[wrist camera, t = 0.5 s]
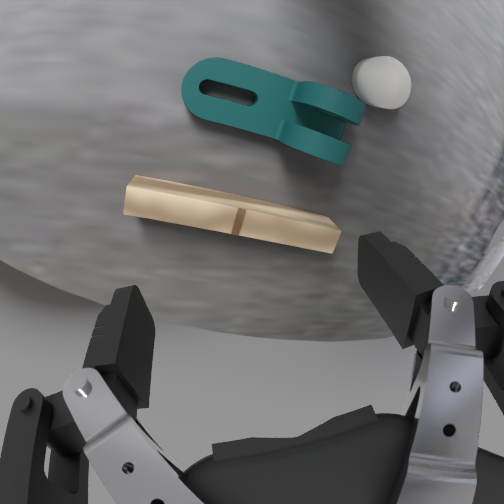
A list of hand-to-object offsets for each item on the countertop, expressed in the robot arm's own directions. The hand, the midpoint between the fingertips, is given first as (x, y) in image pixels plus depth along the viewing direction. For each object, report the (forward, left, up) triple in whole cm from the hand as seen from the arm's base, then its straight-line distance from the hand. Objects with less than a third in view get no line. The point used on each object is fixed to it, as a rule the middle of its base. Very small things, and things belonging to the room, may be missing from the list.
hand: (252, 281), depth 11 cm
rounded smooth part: (-14, +16, -26) cm, 33 cm away
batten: (+6, +4, -25) cm, 26 cm away
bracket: (-6, +4, -26) cm, 27 cm away
